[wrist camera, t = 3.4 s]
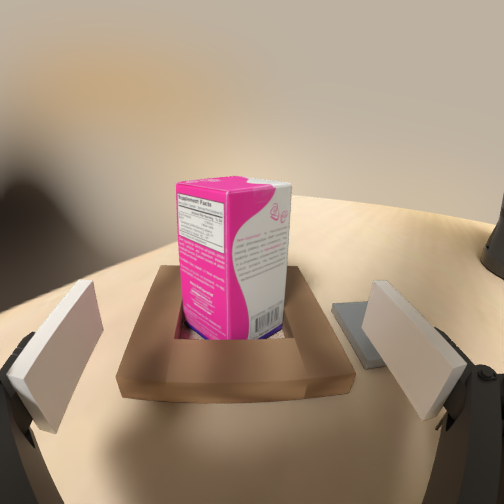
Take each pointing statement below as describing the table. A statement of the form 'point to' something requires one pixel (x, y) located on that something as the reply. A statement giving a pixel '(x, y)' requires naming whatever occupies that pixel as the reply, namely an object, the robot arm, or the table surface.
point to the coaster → (357, 332)
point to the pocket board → (232, 353)
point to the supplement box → (233, 255)
